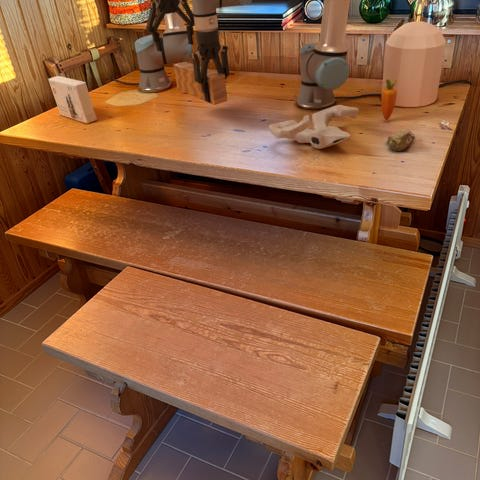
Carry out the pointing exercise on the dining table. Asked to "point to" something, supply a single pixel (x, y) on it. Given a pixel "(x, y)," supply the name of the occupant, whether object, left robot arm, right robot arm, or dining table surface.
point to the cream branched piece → (316, 128)
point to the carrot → (388, 99)
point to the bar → (188, 84)
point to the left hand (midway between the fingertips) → (175, 47)
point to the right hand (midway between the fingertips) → (215, 99)
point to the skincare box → (72, 99)
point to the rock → (400, 140)
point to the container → (414, 63)
